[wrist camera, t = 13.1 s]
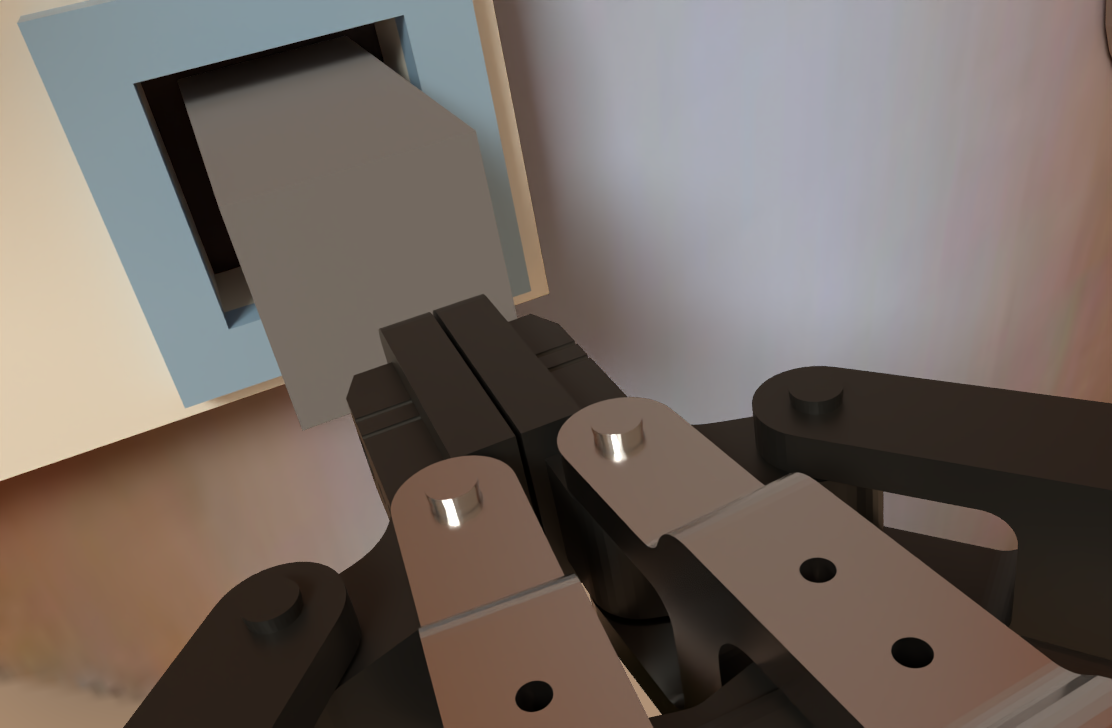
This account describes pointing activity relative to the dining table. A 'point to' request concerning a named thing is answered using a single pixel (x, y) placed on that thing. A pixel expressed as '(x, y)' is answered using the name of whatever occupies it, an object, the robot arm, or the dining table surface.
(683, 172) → the dining table surface
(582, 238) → the dining table surface
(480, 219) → the plug
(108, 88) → the socket block
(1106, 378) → the dining table surface
